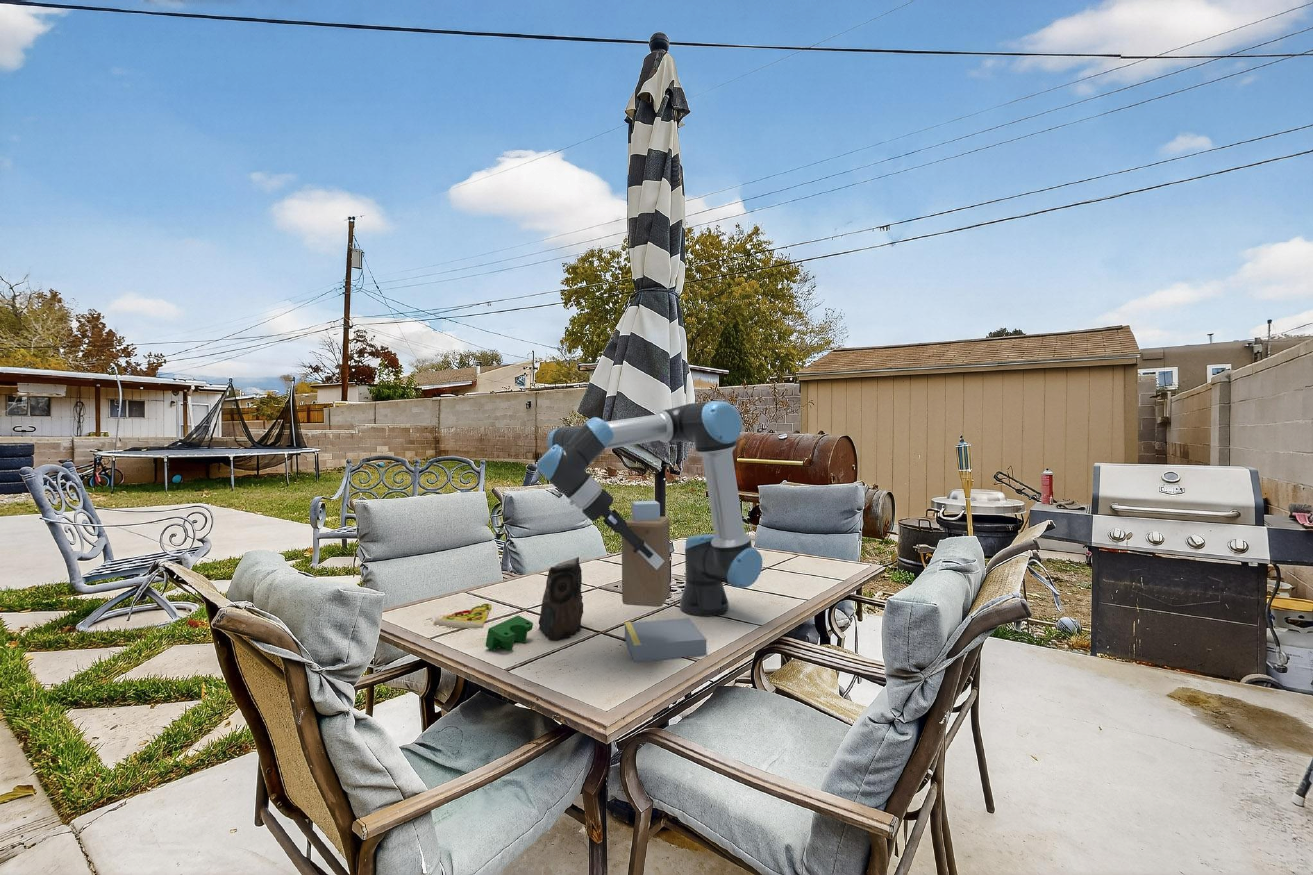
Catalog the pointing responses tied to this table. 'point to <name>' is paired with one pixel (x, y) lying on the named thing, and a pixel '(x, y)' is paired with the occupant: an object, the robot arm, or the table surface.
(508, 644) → the clamp
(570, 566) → the owl
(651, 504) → the box
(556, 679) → the table surface
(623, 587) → the wooden block
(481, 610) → the pizza slice
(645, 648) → the dock
